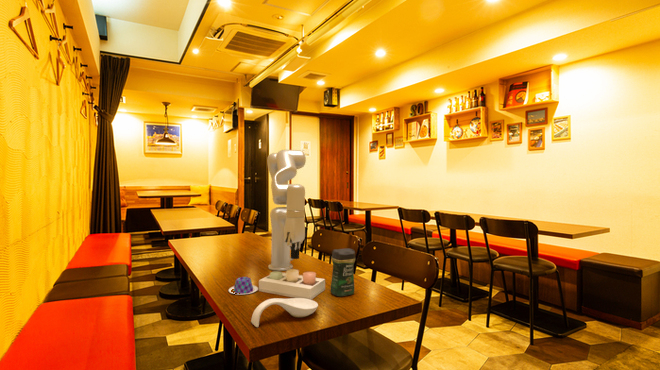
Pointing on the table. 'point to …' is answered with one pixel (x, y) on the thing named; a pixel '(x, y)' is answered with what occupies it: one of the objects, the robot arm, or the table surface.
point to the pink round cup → (309, 278)
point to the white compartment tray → (291, 287)
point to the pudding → (243, 286)
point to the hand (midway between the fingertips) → (294, 258)
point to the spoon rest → (286, 307)
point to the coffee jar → (343, 272)
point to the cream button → (292, 275)
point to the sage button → (276, 275)
